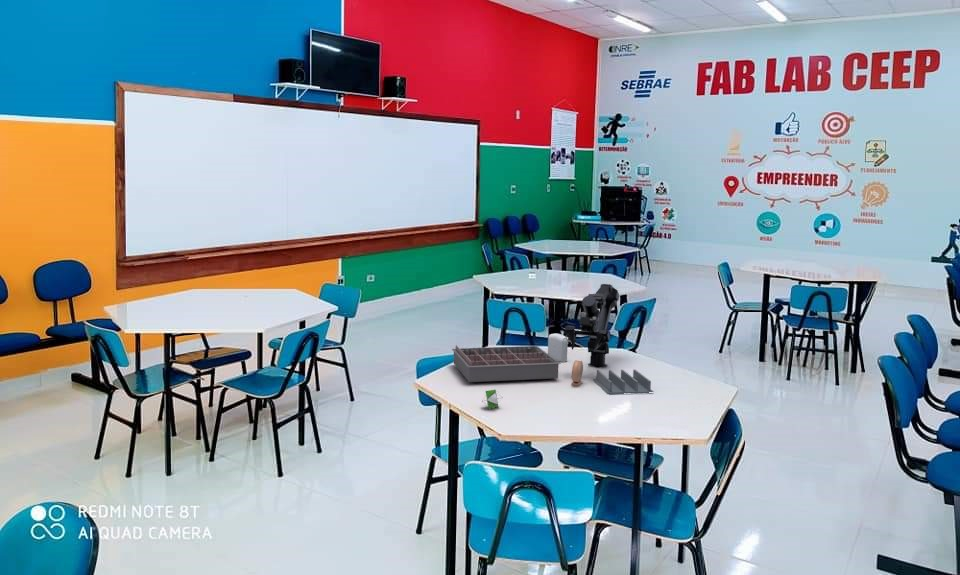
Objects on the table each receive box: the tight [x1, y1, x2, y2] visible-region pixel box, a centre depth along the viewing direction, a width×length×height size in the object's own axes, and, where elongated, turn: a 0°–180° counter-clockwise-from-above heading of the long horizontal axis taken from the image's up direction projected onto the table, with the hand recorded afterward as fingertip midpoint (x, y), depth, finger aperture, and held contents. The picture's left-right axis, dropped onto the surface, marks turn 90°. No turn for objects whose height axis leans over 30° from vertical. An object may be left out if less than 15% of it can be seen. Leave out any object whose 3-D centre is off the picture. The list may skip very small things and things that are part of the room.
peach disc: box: [570, 359, 584, 387], centre depth 313 cm, size 9×3×10 cm, turn 157°
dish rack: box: [592, 369, 654, 395], centre depth 311 cm, size 20×19×5 cm
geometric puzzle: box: [483, 389, 503, 409], centre depth 280 cm, size 7×7×8 cm
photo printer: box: [547, 333, 569, 363], centre depth 353 cm, size 10×4×12 cm, turn 39°
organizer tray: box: [451, 344, 562, 383], centre depth 328 cm, size 32×40×10 cm
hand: (582, 350), depth 318 cm, fingers open, 9 cm apart
